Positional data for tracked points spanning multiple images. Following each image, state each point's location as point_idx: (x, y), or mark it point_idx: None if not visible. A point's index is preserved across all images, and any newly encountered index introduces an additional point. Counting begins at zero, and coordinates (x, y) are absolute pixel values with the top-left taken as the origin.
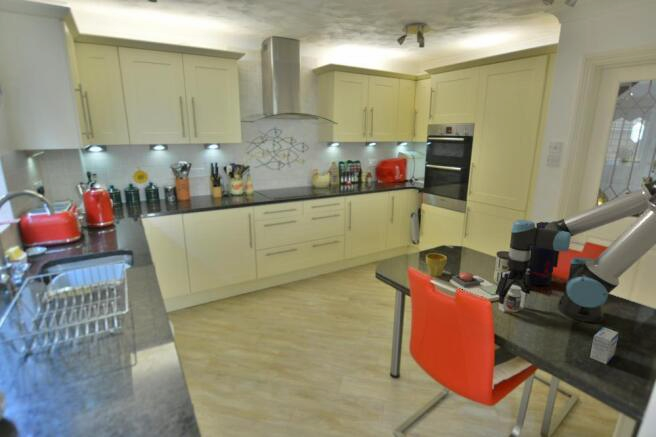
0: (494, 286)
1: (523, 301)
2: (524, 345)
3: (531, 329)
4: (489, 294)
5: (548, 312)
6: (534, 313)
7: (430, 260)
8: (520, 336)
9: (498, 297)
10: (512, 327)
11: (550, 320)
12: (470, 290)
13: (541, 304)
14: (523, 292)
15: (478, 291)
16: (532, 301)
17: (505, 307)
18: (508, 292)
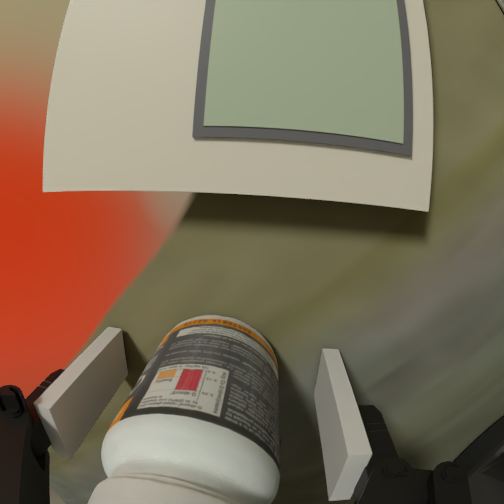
0: (395, 2)
1: (320, 432)
2: (66, 498)
3: None
4: (184, 107)
5: (409, 452)
6: (321, 448)
7: None
8: (78, 485)
9: (236, 192)
10: (79, 456)
11: (323, 498)
12: (88, 2)
13: (482, 375)
14: (352, 480)
15: (134, 24)
16: (484, 326)
17: (111, 395)
18: (105, 466)
